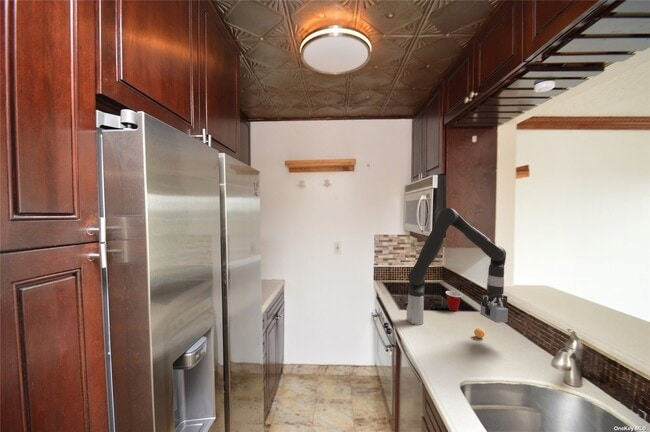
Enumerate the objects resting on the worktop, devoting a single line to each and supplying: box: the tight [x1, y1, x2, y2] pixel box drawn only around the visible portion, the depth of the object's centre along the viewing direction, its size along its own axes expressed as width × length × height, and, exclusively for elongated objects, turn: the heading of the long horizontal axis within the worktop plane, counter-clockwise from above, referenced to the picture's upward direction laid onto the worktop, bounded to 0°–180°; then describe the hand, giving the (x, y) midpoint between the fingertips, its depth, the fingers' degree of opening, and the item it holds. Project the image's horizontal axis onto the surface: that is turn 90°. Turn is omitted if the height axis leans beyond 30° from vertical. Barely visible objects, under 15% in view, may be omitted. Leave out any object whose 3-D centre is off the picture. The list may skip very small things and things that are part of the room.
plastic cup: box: [445, 290, 463, 312], centre depth 187 cm, size 11×11×12 cm
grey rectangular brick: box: [479, 301, 509, 324], centre depth 141 cm, size 7×11×7 cm, turn 11°
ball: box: [473, 327, 485, 339], centre depth 146 cm, size 5×5×5 cm
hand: (493, 314), depth 141 cm, fingers closed on grey rectangular brick, 6 cm apart
